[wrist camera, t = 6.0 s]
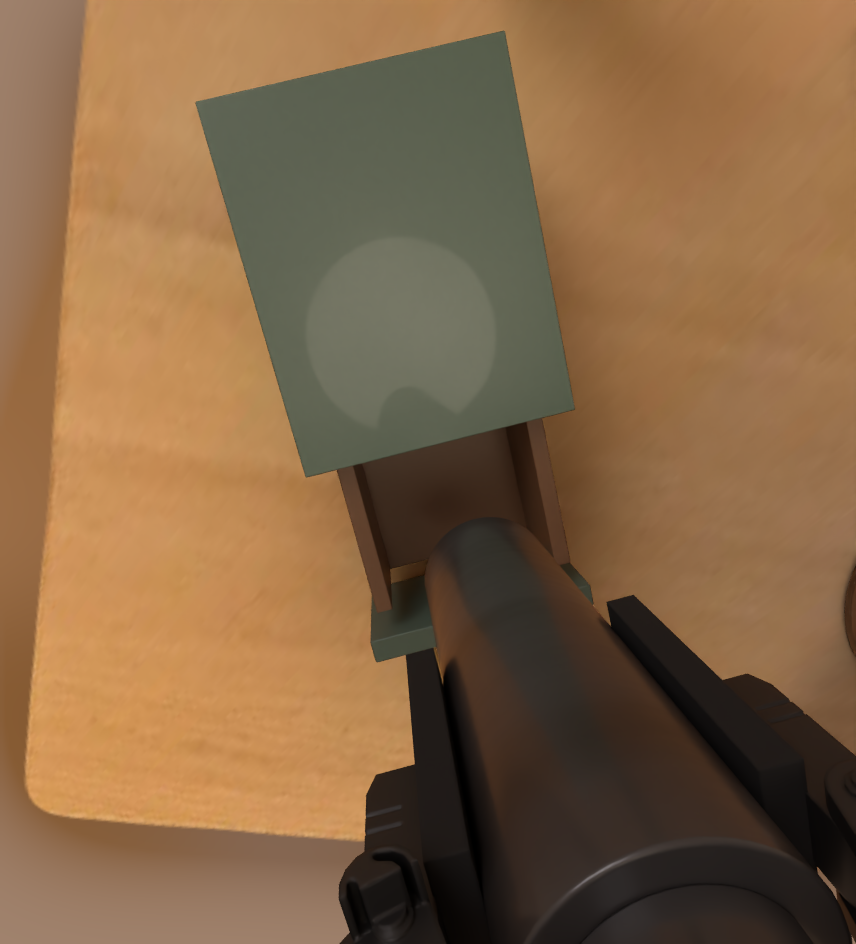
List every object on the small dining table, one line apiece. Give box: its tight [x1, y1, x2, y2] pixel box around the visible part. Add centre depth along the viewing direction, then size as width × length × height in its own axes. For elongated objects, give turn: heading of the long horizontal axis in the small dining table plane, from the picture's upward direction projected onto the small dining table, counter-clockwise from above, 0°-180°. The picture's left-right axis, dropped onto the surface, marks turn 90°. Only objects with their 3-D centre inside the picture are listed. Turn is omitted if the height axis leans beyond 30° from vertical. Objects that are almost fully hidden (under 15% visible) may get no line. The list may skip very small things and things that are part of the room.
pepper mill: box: [425, 517, 852, 944], centre depth 14 cm, size 5×5×18 cm
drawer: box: [337, 418, 593, 686], centre depth 32 cm, size 19×11×7 cm, turn 14°
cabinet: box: [196, 31, 575, 477], centre depth 29 cm, size 16×13×9 cm
